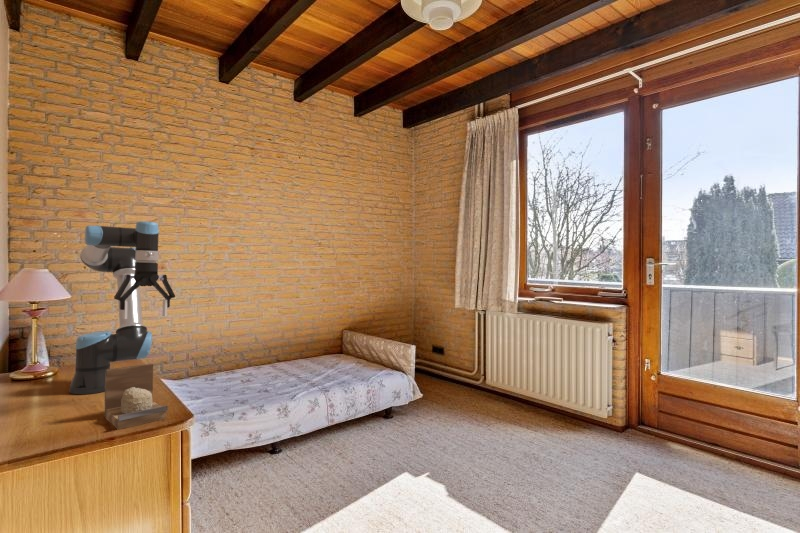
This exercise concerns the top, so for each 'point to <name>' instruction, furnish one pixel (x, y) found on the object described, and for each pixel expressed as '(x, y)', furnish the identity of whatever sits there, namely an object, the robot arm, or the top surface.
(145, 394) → the sponge
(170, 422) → the top surface
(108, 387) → the board
